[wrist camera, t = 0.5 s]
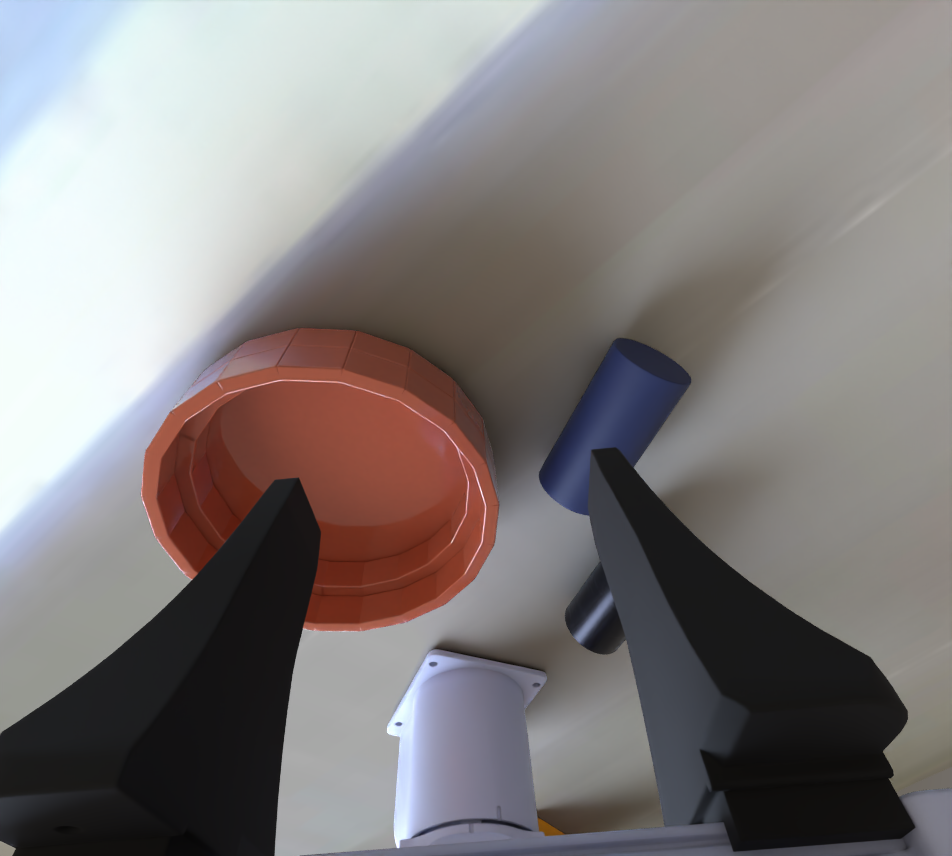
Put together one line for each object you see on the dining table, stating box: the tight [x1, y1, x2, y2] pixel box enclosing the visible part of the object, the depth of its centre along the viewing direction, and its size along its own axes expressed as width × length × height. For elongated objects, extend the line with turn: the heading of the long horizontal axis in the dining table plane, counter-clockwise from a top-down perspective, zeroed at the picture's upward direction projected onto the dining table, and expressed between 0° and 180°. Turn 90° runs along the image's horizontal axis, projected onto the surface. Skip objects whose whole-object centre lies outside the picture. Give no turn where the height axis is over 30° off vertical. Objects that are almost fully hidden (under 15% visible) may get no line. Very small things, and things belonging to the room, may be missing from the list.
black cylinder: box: [565, 561, 626, 655], centre depth 29 cm, size 7×3×3 cm, turn 158°
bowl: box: [141, 328, 499, 631], centre depth 24 cm, size 14×14×4 cm
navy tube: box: [539, 338, 691, 515], centre depth 24 cm, size 7×3×3 cm, turn 158°
